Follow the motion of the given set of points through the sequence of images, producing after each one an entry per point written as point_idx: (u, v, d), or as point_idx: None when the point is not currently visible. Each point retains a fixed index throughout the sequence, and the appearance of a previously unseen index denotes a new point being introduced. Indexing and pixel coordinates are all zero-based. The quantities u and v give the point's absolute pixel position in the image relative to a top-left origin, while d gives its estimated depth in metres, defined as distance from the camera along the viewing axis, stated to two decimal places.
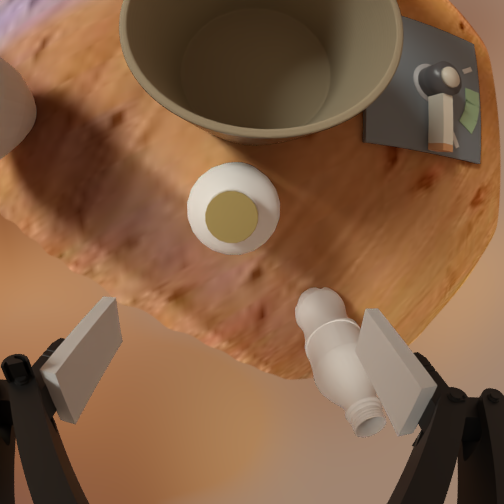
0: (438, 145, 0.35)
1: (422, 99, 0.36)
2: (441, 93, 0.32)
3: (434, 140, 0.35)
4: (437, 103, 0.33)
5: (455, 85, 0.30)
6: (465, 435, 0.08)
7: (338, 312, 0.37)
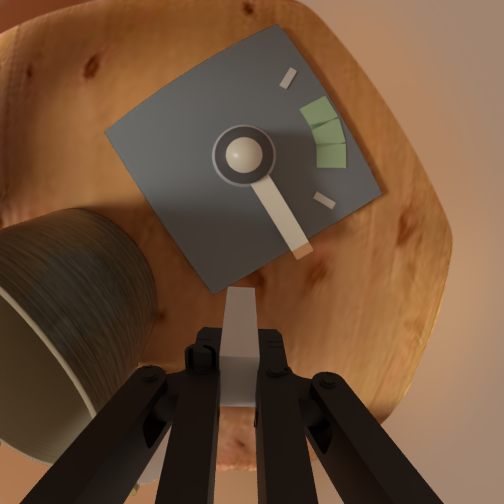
0: None
1: (245, 189, 0.31)
2: (250, 184, 0.27)
3: None
4: None
5: (257, 163, 0.25)
6: None
7: None
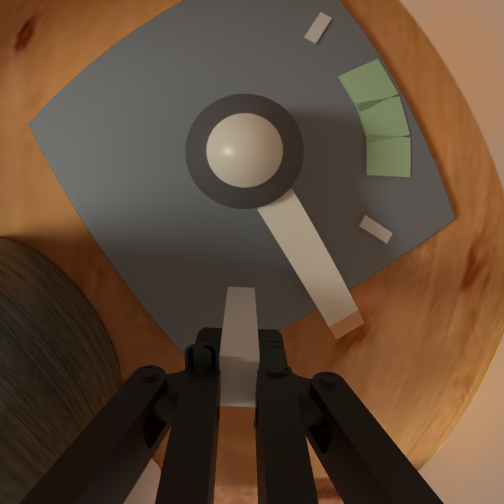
0: None
1: (247, 212, 0.18)
2: (257, 208, 0.14)
3: None
4: None
5: (273, 167, 0.12)
6: None
7: None
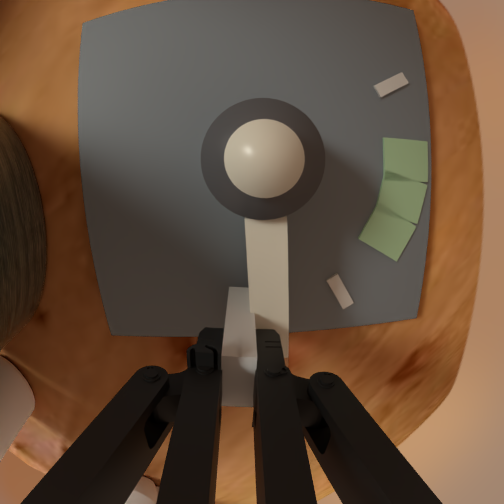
0: None
1: (231, 214, 0.17)
2: (245, 217, 0.13)
3: None
4: None
5: (281, 188, 0.11)
6: None
7: None
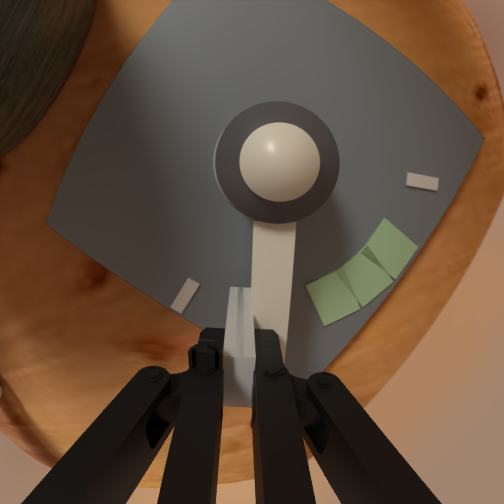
0: None
1: (215, 191, 0.17)
2: (254, 219, 0.13)
3: None
4: None
5: (294, 193, 0.11)
6: None
7: None
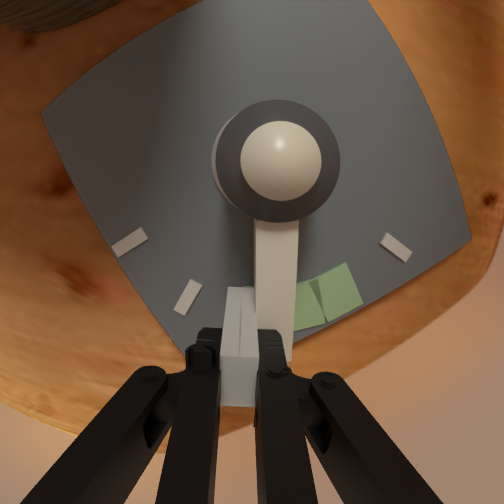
0: None
1: (206, 161, 0.16)
2: (256, 219, 0.13)
3: None
4: None
5: (296, 192, 0.11)
6: None
7: None
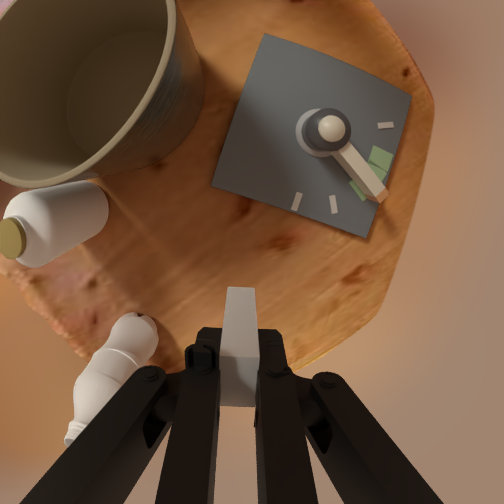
0: (373, 198, 0.36)
1: (300, 150, 0.37)
2: (337, 150, 0.33)
3: (366, 192, 0.37)
4: (342, 159, 0.35)
5: (342, 133, 0.31)
6: None
7: (133, 343, 0.37)
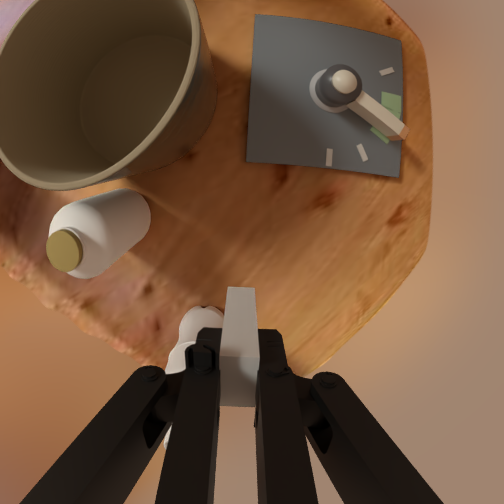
0: (396, 137, 0.35)
1: (319, 109, 0.37)
2: (354, 101, 0.33)
3: (388, 134, 0.36)
4: (360, 108, 0.34)
5: (355, 83, 0.31)
6: None
7: None
